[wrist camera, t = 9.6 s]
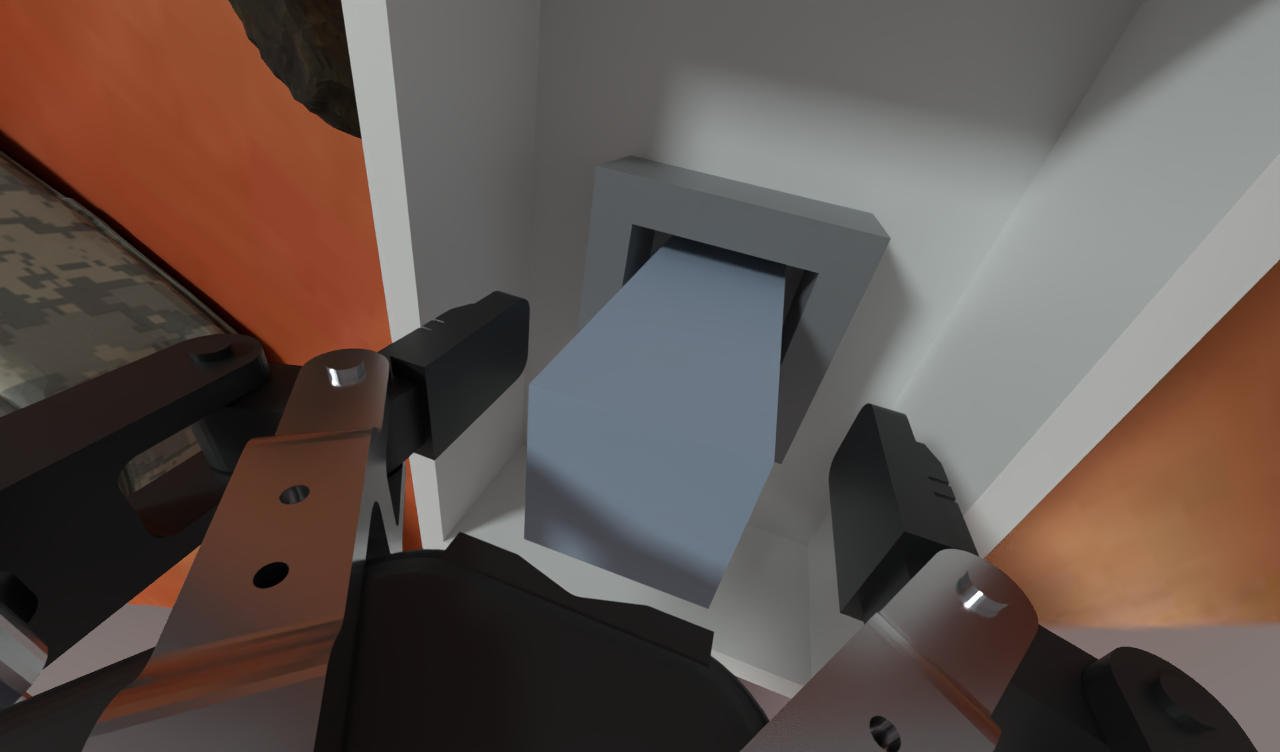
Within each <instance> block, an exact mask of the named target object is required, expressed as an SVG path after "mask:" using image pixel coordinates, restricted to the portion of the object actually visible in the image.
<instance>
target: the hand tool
mask: <svg viewBox="0 0 1280 752" xmlns="http://www.w3.org/2000/svg"><path fill="white" fill-rule="evenodd" d="M229 2H230V3H231V5H232V7H233V9H234V10H235V12H236V14H237V15H238V17H239V18H240V20H241V21H242V23H243V25H244V28H245V31H246V34H247V37H248V39H249V40H250V41H251V42H252V43H253V44H254V45H255V46H256V47H257V48H258V49H259V51H260V54H261V58H262V59H263V61H264V62H265V63H266V65H267V66H268V67H269V69H270V70H271V71H272V72H273V74H274V75H275V76H276V77H277V78H278V79H280V80H281V81H282V82H283V83H284V84H285V85H286V86H287V87H288V88H289V90H290V92H291V94H292V96H293V98H294V99H295V100H296V101H298V102H300V103H302V104H303V105H304V106H305V107H306V108H307V109H308V110H309V111H310V112H312V113H314V114H317V115H318V116H319V117H320V118H321V119H323V120H324V121H325V122H326V123H327V124H329V125H331V126H332V127H334V128H336V129H338V130H341V131H343V132H345V133H348V134H350V135H353V136H355V137H358V138H361V139H362V137H361V130H360V123H359V117H358V110H357V103H356V96H355V90H354V83H353V76H352V70H351V63H350V56H349V49H348V43H347V36H346V29H345V23H344V16H343V9H342V2H341V0H229Z"/></svg>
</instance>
